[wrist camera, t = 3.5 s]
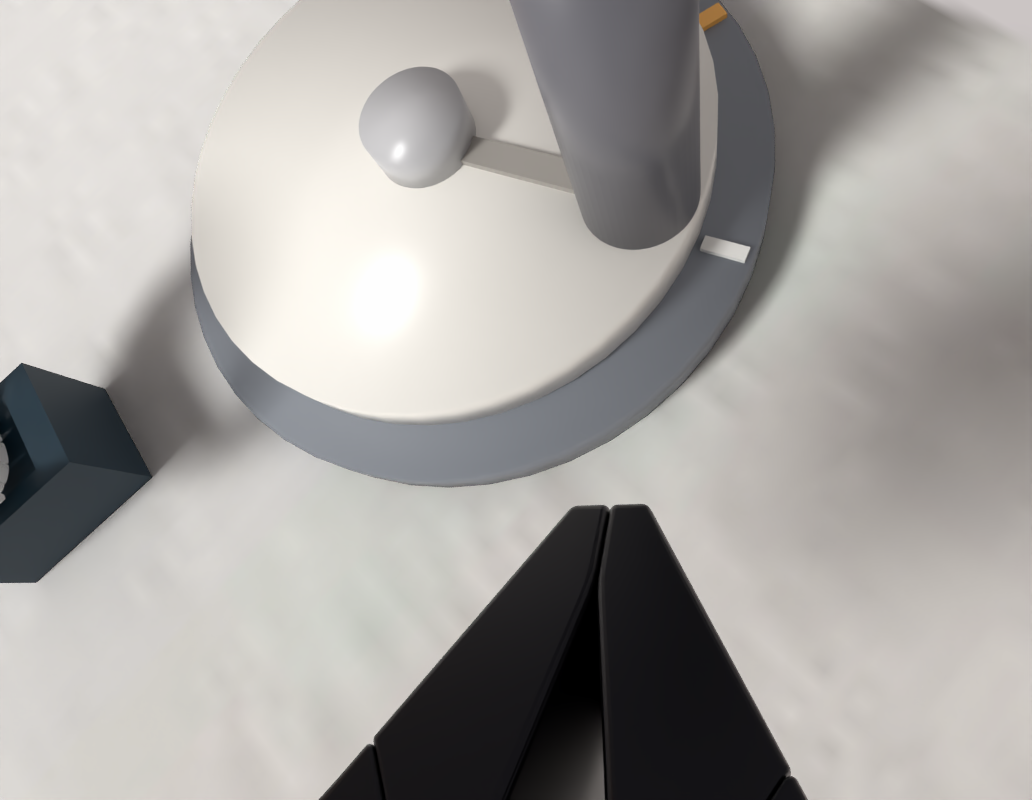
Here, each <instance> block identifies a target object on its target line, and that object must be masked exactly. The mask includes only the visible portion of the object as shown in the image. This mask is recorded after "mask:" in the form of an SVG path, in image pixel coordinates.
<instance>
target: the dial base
mask: <svg viewBox="0 0 1032 800" xmlns="http://www.w3.org/2000/svg"><path fill="white" fill-rule="evenodd" d="M699 23H700V25H701V27H702V29H703V31H704V34H705V37H706V40H707V43H708V46H709V49H710V53H711V56H712V59H713V63H714V70H715V77H716V84H717V91H718V127H717V162H716V171H715V177H714V182H713V188H712V194H711V200H710V203H709V206H708V209H707V212H706V215H705V218H704V221H703V224H702V228H701V231H700V234H699V236H698V238H697V240H696V242H695V244H694V246H693V248H692V250H691V253H690V255H689V257H688V259H687V261H686V263H685V265H684V267H683V269H682V270H681V272H680V273H679V275H678V276H677V278H676V279H675V281H674V282H673V284H672V285H671V287H670V288H669V290H668V292H667V293H666V295H665V296H664V298H663V299H662V301H661V302H660V303H659V304H658V305H657V307H656V308H655V309H654V310H653V311H652V312H651V313H650V315H649V316H648V317H647V318H646V319H645V320H644V322H643V323H642V324H641V325H640V326H639V327H638V328H637V330H636V331H635V332H634V333H633V334H631V335H630V336H629V337H628V338H627V339H626V340H625V341H624V342H623V343H621V344H620V345H619V346H618V347H617V348H616V349H615V350H614V351H613V352H611V353H610V354H609V355H608V356H607V357H606V358H605V359H603V360H602V361H600V362H599V363H598V364H596V365H595V366H593V367H592V368H590V369H589V370H588V371H586V372H585V373H583V374H582V375H580V376H579V377H578V378H576V379H575V380H573V381H572V382H570V383H568V384H566V385H564V386H562V387H560V388H558V389H556V390H555V391H553V392H551V393H549V394H547V395H545V396H543V397H541V398H539V399H537V400H535V401H532V402H530V403H527V404H524V405H522V406H519V407H516V408H514V409H511V410H508V411H506V412H503V413H500V414H496V415H491V416H487V417H483V418H479V419H475V420H471V421H466V422H458V423H448V424H439V425H403V424H392V423H386V422H380V421H375V420H369V419H364V418H361V417H358V416H355V415H352V414H349V413H346V412H343V411H340V410H337V409H334V408H332V407H330V406H327V405H325V404H323V403H321V402H319V401H316V400H314V399H312V398H310V397H308V396H305V395H303V394H302V393H300V392H298V391H296V390H294V389H292V388H290V387H288V386H286V385H284V384H282V383H281V382H279V381H277V380H275V379H274V378H273V377H271V376H270V375H269V374H267V373H266V372H265V371H263V370H262V369H261V368H259V367H258V366H257V365H255V364H254V363H253V362H252V361H251V360H250V359H249V358H248V357H247V356H246V355H245V354H244V353H243V352H242V351H241V350H240V349H239V348H238V347H237V346H236V345H235V344H234V342H233V341H232V340H231V339H230V337H229V336H228V334H227V333H226V331H225V330H224V328H223V327H222V325H221V324H220V323H219V321H218V320H217V318H216V316H215V314H214V312H213V310H212V308H211V306H210V304H209V302H208V300H207V297H206V295H205V293H204V291H203V287H202V284H201V281H200V277H199V274H198V271H197V267H196V263H195V257H194V250H193V243H192V235H191V244H190V245H191V280H192V287H193V294H194V301H195V308H196V311H197V314H198V318H199V321H200V325H201V328H202V332H203V335H204V338H205V340H206V343H207V345H208V347H209V349H210V351H211V354H212V356H213V358H214V360H215V362H216V364H217V367H218V368H219V370H220V371H221V373H222V374H223V376H224V377H225V379H226V380H227V382H228V383H229V385H230V386H231V388H232V389H233V391H234V393H235V394H236V395H237V396H238V397H239V398H240V399H241V401H242V402H243V403H244V404H245V405H246V406H247V407H248V408H249V409H250V410H251V412H252V413H253V414H254V415H255V416H256V417H257V418H258V419H259V420H260V421H262V422H263V423H264V424H266V425H267V426H268V427H269V428H271V429H272V430H273V431H274V432H276V433H277V434H278V435H279V436H281V437H282V438H283V439H284V440H286V441H288V442H290V443H291V444H293V445H295V446H297V447H299V448H300V449H302V450H304V451H306V452H307V453H309V454H311V455H313V456H314V457H317V458H319V459H322V460H325V461H327V462H330V463H333V464H335V465H338V466H341V467H343V468H346V469H349V470H352V471H355V472H358V473H362V474H365V475H368V476H372V477H375V478H380V479H384V480H389V481H394V482H399V483H404V484H408V485H418V486H434V487H462V486H475V485H487V484H493V483H498V482H503V481H507V480H512V479H516V478H521V477H526V476H530V475H533V474H536V473H539V472H541V471H544V470H547V469H550V468H553V467H555V466H558V465H561V464H564V463H567V462H569V461H572V460H574V459H576V458H578V457H580V456H581V455H583V454H585V453H587V452H589V451H591V450H593V449H595V448H597V447H599V446H601V445H603V444H605V443H607V442H609V441H611V440H612V439H613V438H615V437H616V436H618V435H619V434H621V433H622V432H624V431H625V430H627V429H628V428H630V427H631V426H632V425H634V424H635V423H637V422H638V421H640V420H641V419H643V418H644V417H646V416H647V415H648V414H649V413H650V412H651V411H653V410H654V409H655V408H656V407H657V406H658V405H659V404H660V403H662V402H663V401H664V400H665V399H666V398H667V397H668V396H669V395H670V394H672V393H673V392H674V391H675V390H676V389H677V388H678V387H679V386H680V385H681V384H682V383H683V382H684V381H685V380H686V378H687V377H688V376H689V375H690V374H691V373H692V372H693V370H694V369H695V368H696V367H697V366H698V365H699V363H700V362H701V361H702V360H703V359H704V358H705V356H706V355H707V354H708V353H709V352H710V350H711V349H712V347H713V346H714V344H715V343H716V341H717V340H718V338H719V336H720V335H721V333H722V332H723V330H724V329H725V327H726V326H727V324H728V323H729V321H730V320H731V318H732V317H733V315H734V313H735V311H736V308H737V306H738V304H739V302H740V300H741V298H742V296H743V294H744V292H745V290H746V287H747V285H748V283H749V281H750V279H751V277H752V273H753V270H754V267H755V264H756V260H757V257H758V254H759V251H760V248H761V244H762V241H763V238H764V232H765V226H766V221H767V215H768V209H769V202H770V196H771V189H772V183H773V176H774V170H775V137H774V123H773V117H772V111H771V105H770V99H769V93H768V89H767V86H766V83H765V80H764V78H763V75H762V72H761V69H760V66H759V63H758V60H757V58H756V55H755V53H754V51H753V50H752V48H751V46H750V44H749V42H748V41H747V39H746V37H745V35H744V33H743V32H742V30H741V28H740V26H739V24H738V23H737V22H736V21H735V19H734V18H733V17H732V16H731V14H730V13H729V12H728V11H727V9H726V8H725V7H724V6H723V4H722V3H721V2H720V1H719V0H699Z"/></svg>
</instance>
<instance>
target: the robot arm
mask: <svg viewBox="0 0 1032 800" xmlns="http://www.w3.org/2000/svg"><path fill="white" fill-rule="evenodd" d="M319 800H808V799H807V798H806V796H805V794H804V792H803V790H802V788H801V786H800V785H799V783H798V781H797V779H796V778H794V777H792V776H791V771H790V767H789V765H788V763H787V761H786V760H785V758H784V756H783V754H782V752H781V750H780V748H779V747H778V745H777V743H776V741H775V739H774V737H773V735H772V734H771V732H770V730H769V728H768V726H767V724H766V722H765V721H764V719H763V717H762V715H761V713H760V711H759V710H758V708H757V706H756V704H755V702H754V700H753V698H752V697H751V695H750V693H749V691H748V689H747V687H746V685H745V684H744V682H743V680H742V678H741V676H740V674H739V672H738V671H737V669H736V667H735V665H734V663H733V661H732V659H731V658H730V656H729V654H728V652H727V650H726V648H725V646H724V645H723V643H722V641H721V639H720V637H719V635H718V633H717V632H716V630H715V628H714V626H713V624H712V622H711V620H710V619H709V617H708V615H707V613H706V611H705V609H704V607H703V606H702V604H701V602H700V600H699V598H698V596H697V594H696V593H695V591H694V589H693V587H692V585H691V583H690V581H689V580H688V578H687V576H686V574H685V572H684V570H683V568H682V567H681V565H680V563H679V561H678V559H677V557H676V555H675V554H674V552H673V550H672V548H671V546H670V544H669V542H668V541H667V539H666V537H665V535H664V533H663V531H662V529H661V528H660V526H659V524H658V522H657V520H656V518H655V516H654V515H653V513H652V511H651V509H650V508H649V507H648V506H647V505H645V504H629V505H614V506H613V507H612V508H611V509H610V510H609V508H608V507H607V506H605V505H590V506H575V507H573V508H571V509H570V510H569V511H568V512H567V513H566V514H565V516H564V517H563V518H562V519H561V520H560V521H559V522H558V524H557V525H556V526H555V527H554V528H553V529H552V531H551V532H550V533H549V534H548V535H547V536H546V538H545V539H544V540H543V541H542V542H541V543H540V545H539V546H538V547H537V548H536V549H535V550H534V552H533V553H532V554H531V555H530V556H529V557H528V559H527V560H526V561H525V562H524V563H523V564H522V566H521V567H520V568H519V569H518V570H517V571H516V572H515V574H514V575H513V576H512V577H511V578H510V579H509V581H508V582H507V583H506V584H505V585H504V586H503V588H502V589H501V590H500V591H499V592H498V593H497V595H496V596H495V597H494V598H493V599H492V600H491V602H490V603H489V604H488V605H487V606H486V607H485V609H484V610H483V611H482V612H481V613H480V614H479V616H478V617H477V618H476V619H475V620H474V621H473V622H472V624H471V625H470V626H469V627H468V628H467V629H466V631H465V632H464V633H463V634H462V635H461V636H460V638H459V639H458V640H457V641H456V642H455V643H454V645H453V646H452V647H451V648H450V649H449V650H448V652H447V653H446V654H445V655H444V656H443V657H442V659H441V660H440V661H439V662H438V663H437V664H436V666H435V667H434V668H433V669H432V670H431V671H430V673H429V674H428V675H427V676H426V677H425V678H424V679H423V681H422V682H421V683H420V684H419V685H418V686H417V688H416V689H415V690H414V691H413V692H412V693H411V695H410V696H409V697H408V698H407V699H406V700H405V702H404V703H403V704H402V705H401V706H400V707H399V709H398V710H397V711H396V712H395V713H394V714H393V716H392V717H391V718H390V719H389V720H388V721H387V723H386V724H385V725H384V726H383V727H382V728H381V729H380V731H379V732H378V733H377V734H376V735H375V737H374V745H372V744H368V745H366V746H365V748H364V749H363V750H362V751H361V752H360V753H359V755H358V756H357V757H356V758H355V759H354V760H353V762H352V763H351V764H350V765H349V766H348V767H347V769H346V770H345V771H344V772H343V773H342V774H341V775H340V777H339V778H338V779H337V780H336V781H335V782H334V783H333V784H332V786H331V787H330V788H329V789H328V790H327V791H326V792H325V793H324V794H323V796H322V797H321V798H320V799H319Z"/></svg>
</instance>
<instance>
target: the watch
mask: <svg viewBox="0 0 1032 800" xmlns="http://www.w3.org/2000/svg"><path fill="white" fill-rule="evenodd" d="M151 478H152V476H151V474H150V472H149V470H148V468H147V467H146V465H145V463H144V461H143V459H142V457H141V455H140V454H139V452H138V450H137V448H136V446H135V444H134V442H133V441H132V439H131V437H130V435H129V433H128V431H127V429H126V428H125V426H124V424H123V422H122V420H121V418H120V416H119V415H118V413H117V411H116V409H115V407H114V405H113V404H112V402H111V400H110V398H109V396H108V394H107V392H106V391H105V389H103V388H100V387H97V386H94V385H91V384H87V383H84V382H81V381H78V380H75V379H71V378H68V377H65V376H62V375H59V374H55V373H52V372H49V371H46V370H43V369H40V368H36V367H33V366H30V365H27V364H24V363H21V364H20V365H19V366H18V367H17V368H16V369H15V370H14V371H12V372H11V373H10V374H9V375H8V376H7V377H6V378H5V379H4V380H3V381H2V382H1V383H0V583H36V582H37V581H38V580H39V579H40V578H41V577H43V576H44V575H45V574H46V573H47V572H48V571H49V570H50V569H51V568H52V567H54V566H55V565H56V564H57V563H58V562H59V561H60V560H61V559H62V558H63V557H65V556H66V555H67V554H68V553H69V552H70V551H71V550H72V549H73V548H75V547H76V546H77V545H78V544H79V543H80V542H81V541H82V540H83V539H84V538H86V537H87V536H88V535H89V534H90V533H91V532H92V531H93V530H94V529H95V528H97V527H98V526H99V525H100V524H101V523H102V522H103V521H104V520H105V519H107V518H108V517H109V516H110V515H111V514H112V513H113V512H114V511H115V510H116V509H118V508H119V507H120V506H121V505H122V504H123V503H124V502H125V501H126V500H127V499H129V498H130V497H131V496H132V495H133V494H134V493H135V492H136V491H137V490H138V489H140V488H141V487H142V486H143V485H144V484H145V483H146V482H147V481H148V480H150V479H151Z"/></svg>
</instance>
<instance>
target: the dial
mask: <svg viewBox="0 0 1032 800" xmlns="http://www.w3.org/2000/svg"><path fill="white" fill-rule="evenodd" d="M717 127H718V91H717V84H716V77H715V70H714V63H713V59H712V56H711V53H710V49H709V46H708V43H707V40H706V37H705V34H704V31H703V29H702V27H701V25H700V23H699V0H299V1H298V2H297V3H296V4H295V5H294V6H293V7H292V8H291V9H290V10H289V11H288V12H286V13H285V14H284V15H283V16H282V17H281V18H280V19H279V20H278V21H277V22H276V23H275V25H274V26H273V27H272V28H271V29H270V30H269V31H268V33H267V34H266V35H265V36H264V37H263V38H262V39H261V40H260V42H259V43H258V44H257V45H256V47H255V48H254V49H253V51H252V52H251V53H250V55H249V56H248V58H247V59H246V60H245V62H244V63H243V64H242V66H241V67H240V69H239V70H238V72H237V74H236V75H235V77H234V79H233V80H232V82H231V84H230V85H229V87H228V89H227V90H226V92H225V94H224V95H223V98H222V100H221V102H220V104H219V106H218V108H217V110H216V112H215V115H214V117H213V119H212V121H211V123H210V126H209V129H208V132H207V135H206V138H205V140H204V143H203V146H202V149H201V153H200V157H199V161H198V165H197V170H196V174H195V178H194V187H193V196H192V205H191V235H192V243H193V250H194V257H195V263H196V267H197V271H198V274H199V277H200V281H201V284H202V287H203V291H204V293H205V295H206V297H207V300H208V302H209V304H210V306H211V308H212V310H213V312H214V314H215V316H216V318H217V320H218V321H219V323H220V324H221V325H222V327H223V328H224V330H225V331H226V333H227V334H228V336H229V337H230V339H231V340H232V341H233V342H234V344H235V345H236V346H237V347H238V348H239V349H240V350H241V351H242V352H243V353H244V354H245V355H246V356H247V357H248V358H249V359H250V360H251V361H252V362H253V363H254V364H255V365H257V366H258V367H259V368H261V369H262V370H263V371H265V372H266V373H267V374H269V375H270V376H271V377H273V378H274V379H275V380H277V381H279V382H281V383H282V384H284V385H286V386H288V387H290V388H292V389H294V390H296V391H298V392H300V393H302V394H303V395H305V396H308V397H310V398H312V399H314V400H316V401H319V402H321V403H323V404H325V405H327V406H330V407H332V408H334V409H337V410H340V411H343V412H346V413H349V414H352V415H355V416H358V417H361V418H364V419H369V420H375V421H380V422H386V423H392V424H403V425H439V424H448V423H458V422H466V421H471V420H475V419H479V418H483V417H487V416H491V415H496V414H500V413H503V412H506V411H508V410H511V409H514V408H516V407H519V406H522V405H524V404H527V403H530V402H532V401H535V400H537V399H539V398H541V397H543V396H545V395H547V394H549V393H551V392H553V391H555V390H556V389H558V388H560V387H562V386H564V385H566V384H568V383H570V382H572V381H573V380H575V379H576V378H578V377H579V376H580V375H582V374H583V373H585V372H586V371H588V370H589V369H590V368H592V367H593V366H595V365H596V364H598V363H599V362H600V361H602V360H603V359H605V358H606V357H607V356H608V355H609V354H610V353H611V352H613V351H614V350H615V349H616V348H617V347H618V346H619V345H620V344H621V343H623V342H624V341H625V340H626V339H627V338H628V337H629V336H630V335H631V334H633V333H634V332H635V331H636V330H637V328H638V327H639V326H640V325H641V324H642V323H643V322H644V320H645V319H646V318H647V317H648V316H649V315H650V313H651V312H652V311H653V310H654V309H655V308H656V307H657V305H658V304H659V303H660V302H661V301H662V299H663V298H664V296H665V295H666V293H667V292H668V290H669V288H670V287H671V285H672V284H673V282H674V281H675V279H676V278H677V276H678V275H679V273H680V272H681V270H682V269H683V267H684V265H685V263H686V261H687V259H688V257H689V255H690V253H691V250H692V248H693V246H694V244H695V242H696V240H697V238H698V236H699V234H700V231H701V228H702V224H703V221H704V218H705V215H706V212H707V209H708V206H709V203H710V200H711V194H712V188H713V182H714V177H715V171H716V162H717Z"/></svg>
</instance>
